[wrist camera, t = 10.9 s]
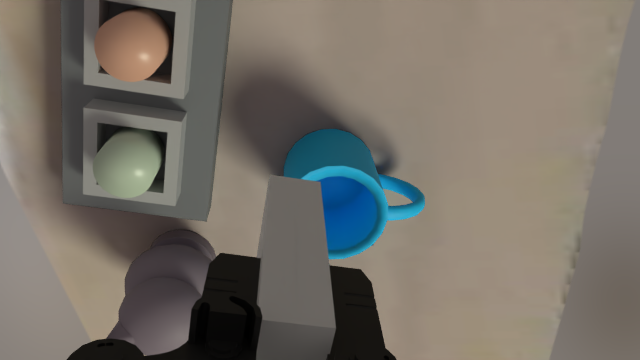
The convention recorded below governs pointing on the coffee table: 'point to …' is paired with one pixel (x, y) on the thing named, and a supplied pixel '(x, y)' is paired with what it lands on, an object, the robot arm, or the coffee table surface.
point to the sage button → (128, 162)
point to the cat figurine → (163, 292)
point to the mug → (349, 189)
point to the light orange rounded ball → (133, 44)
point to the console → (146, 104)
